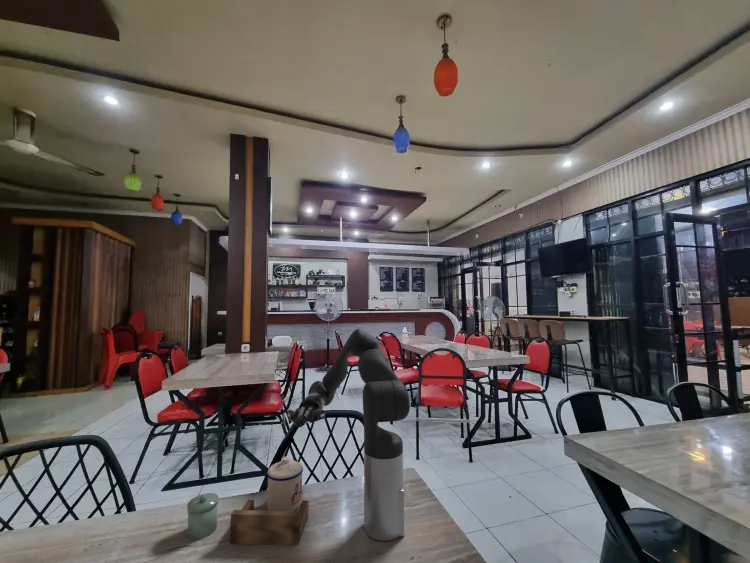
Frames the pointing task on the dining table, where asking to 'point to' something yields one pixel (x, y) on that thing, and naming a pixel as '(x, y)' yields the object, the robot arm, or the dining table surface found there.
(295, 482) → the teacup with lid
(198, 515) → the green ceramic sugar pot
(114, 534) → the dining table surface
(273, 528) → the walnut cup holder
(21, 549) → the dining table surface
